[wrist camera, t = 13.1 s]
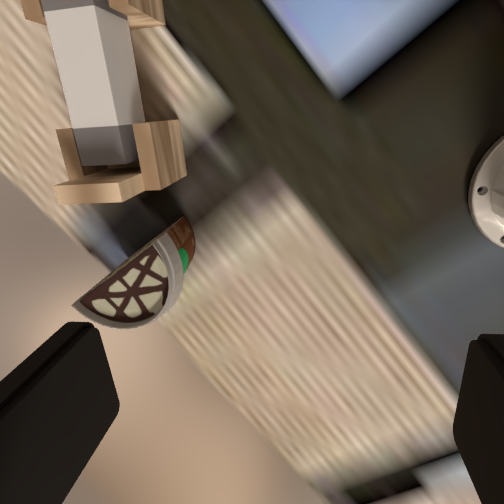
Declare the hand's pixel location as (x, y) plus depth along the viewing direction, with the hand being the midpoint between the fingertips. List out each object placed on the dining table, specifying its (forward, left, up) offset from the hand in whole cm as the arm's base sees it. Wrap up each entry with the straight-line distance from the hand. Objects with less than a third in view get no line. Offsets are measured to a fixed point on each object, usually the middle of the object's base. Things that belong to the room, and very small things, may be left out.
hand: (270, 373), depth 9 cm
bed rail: (+16, -10, -25) cm, 31 cm away
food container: (+15, +9, -28) cm, 33 cm away
